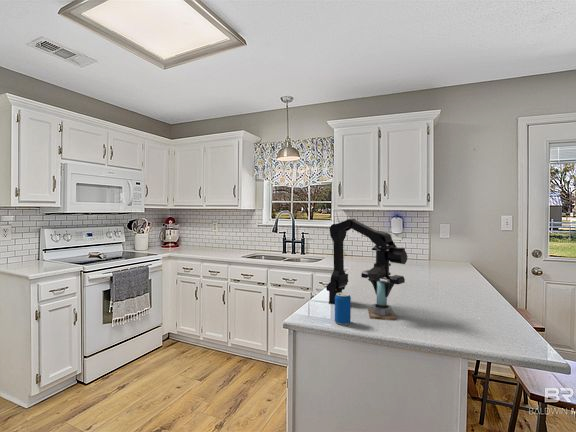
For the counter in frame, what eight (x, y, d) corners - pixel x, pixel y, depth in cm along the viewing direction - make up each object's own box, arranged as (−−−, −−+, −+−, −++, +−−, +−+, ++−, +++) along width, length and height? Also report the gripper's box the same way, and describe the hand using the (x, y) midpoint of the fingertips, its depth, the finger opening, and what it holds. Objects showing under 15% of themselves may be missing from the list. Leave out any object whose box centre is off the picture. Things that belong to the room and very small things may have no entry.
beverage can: (339, 319, 139) (340, 291, 139) (353, 322, 135) (353, 293, 135) (331, 323, 134) (332, 294, 134) (345, 326, 130) (345, 297, 130)
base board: (369, 318, 140) (369, 316, 140) (368, 310, 151) (368, 308, 151) (396, 320, 138) (396, 317, 138) (392, 312, 149) (392, 310, 149)
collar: (372, 315, 141) (372, 308, 141) (371, 309, 150) (371, 303, 150) (392, 316, 140) (392, 309, 140) (390, 310, 148) (390, 304, 148)
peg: (376, 305, 143) (377, 282, 143) (376, 302, 147) (376, 280, 147) (387, 305, 142) (387, 283, 142) (386, 302, 146) (386, 280, 146)
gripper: (354, 260, 146) (353, 294, 146) (391, 266, 132) (390, 304, 132) (368, 257, 153) (368, 290, 154) (405, 263, 139) (404, 299, 140)
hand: (381, 296), depth 145 cm, fingers closed on peg, 4 cm apart
